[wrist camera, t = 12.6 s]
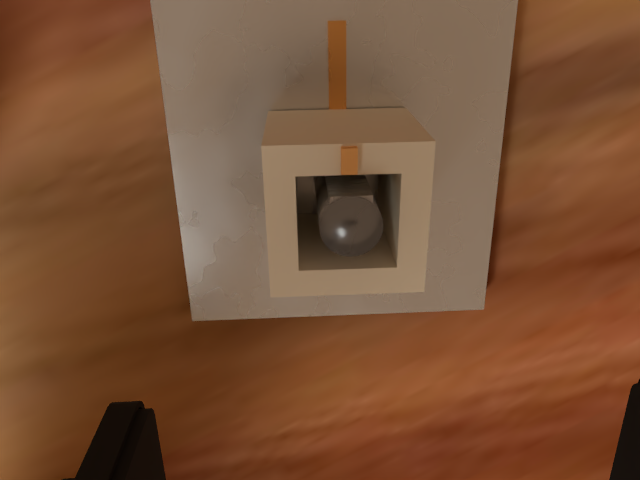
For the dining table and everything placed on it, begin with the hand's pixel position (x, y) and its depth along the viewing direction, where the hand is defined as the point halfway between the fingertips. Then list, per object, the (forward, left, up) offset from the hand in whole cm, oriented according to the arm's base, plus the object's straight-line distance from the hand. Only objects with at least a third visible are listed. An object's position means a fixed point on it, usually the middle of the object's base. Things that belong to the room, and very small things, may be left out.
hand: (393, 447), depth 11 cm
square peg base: (0, 0, -19) cm, 19 cm away
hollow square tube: (0, 0, -18) cm, 18 cm away
